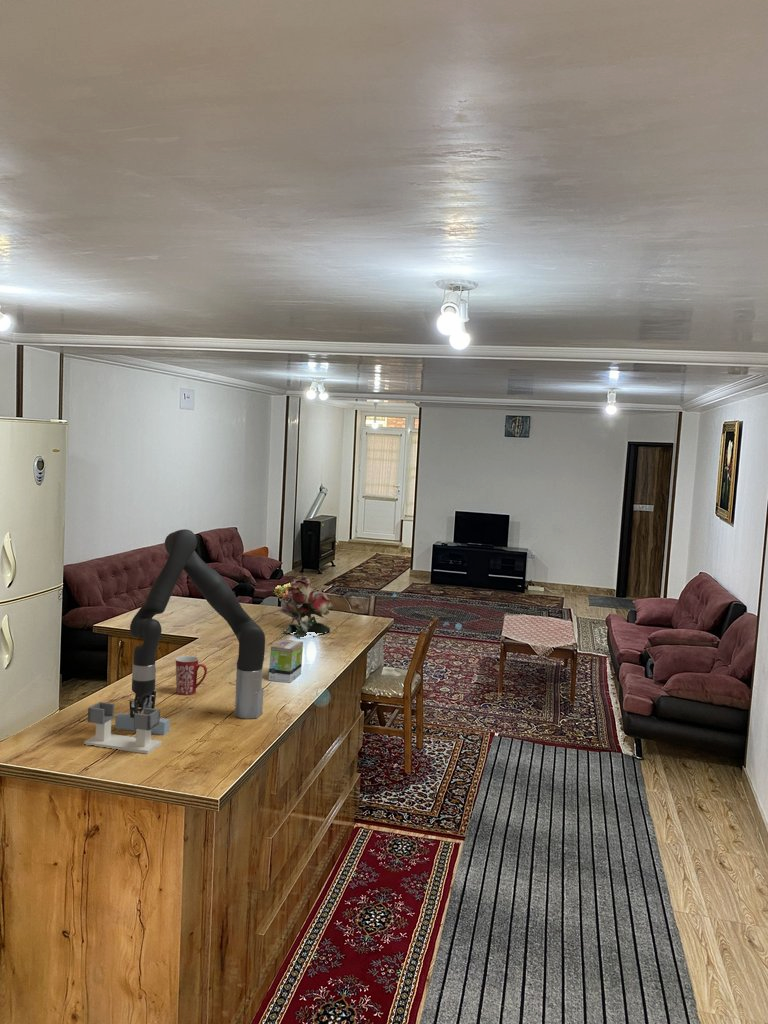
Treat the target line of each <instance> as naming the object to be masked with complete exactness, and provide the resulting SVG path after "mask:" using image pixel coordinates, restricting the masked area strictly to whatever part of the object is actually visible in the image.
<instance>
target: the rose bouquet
mask: <svg viewBox="0 0 768 1024" xmlns="http://www.w3.org/2000/svg"><path fill="white" fill-rule="evenodd" d="M315 590H316V587H314V586H313V584H312V582H311V580H310V579H309V578H308V576H303V575H302V576H301V575H300V576H299V575H298V576H297V577H294V578H293V581H291V582H290V586H287V587H286V592H287V595H285V596H284V597H283V600H281V609H280V610H279V612H280V613H282V614H285V615H287V616H288V617H291V619H292V620H291V622H290V624H288V625H286V626H287V628H288V629H287V628H286V629H287V630H286V631H282V632H286V633H285V634H288V633H293V632H297V633H296V634H295V635H292V637H293V636H294V637H295V638H298V637H304V636H306V635H307V634H306V633H307V632H315V633H316V634H317V633H325V632H328V631H330V632H331V628H330V627H329V626H327V624H323V623H322V622H321V623H320V622H317V620H316V616H317V617H320V618H322V619H328V617H325V616H328V615H329V614H330V609H331V608H333V607H334V604H333V602H331V601H330V598H329V597H328V594H327V593H325V592H322V591H320V590H317V591H315ZM312 615H313V616H312ZM305 617H307V619H306V620H305V621H303V620H302V619H304V618H305ZM294 621H296V622H297V624H294V623H293V622H294ZM328 633H329V632H328Z"/></svg>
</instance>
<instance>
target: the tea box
mask: <svg viewBox="0 0 768 1024" xmlns="http://www.w3.org/2000/svg"><path fill="white" fill-rule="evenodd" d="M303 649H304V641H300V640H299V641H298V640H292V639H290V640H289V639H280V640H279V641H277V642H275V643H274V644H272V645H271V646H270V655H269V667H268V681H272V682H279V683H286V682H287V683H292V681H293V680H296V678H298V677H299V676H301V675H302V666H303Z"/></svg>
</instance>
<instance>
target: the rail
mask: <svg viewBox="0 0 768 1024" xmlns="http://www.w3.org/2000/svg"><path fill="white" fill-rule="evenodd" d="M114 718H115V721H114V728H115V729H117V730H126V731H133V732H136V729H134V718H130V713H126V712H119V713H117V714H116V715H114ZM169 732H170V718H163V717H160V721H159V724H158V725H157V726H155V727H154V728H152V729H151V734H153V735H161V736H165V735H167V734H168V733H169Z"/></svg>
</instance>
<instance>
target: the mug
mask: <svg viewBox="0 0 768 1024" xmlns="http://www.w3.org/2000/svg"><path fill="white" fill-rule="evenodd" d="M174 661H175V676H176V677H175V680H176V682H175V683H176V684H175V685H176V694H177V695H182V696H190V695H194V694H196V692H197V688H198V687H199V686H200V685H201V684H202V683H203V681H204V680H205V678H206V676H207V672H208V667H207V665H206V664H204V663H199V657H197V656H195V655H182V656H181V655H180V656H177V657H176V658H175V659H174ZM201 667H202V668H203V671H204V672H203V673H204V674H203V676H202V678H201V679H200V680H199V682H198V683H197V680H198V670H199V668H201Z"/></svg>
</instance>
